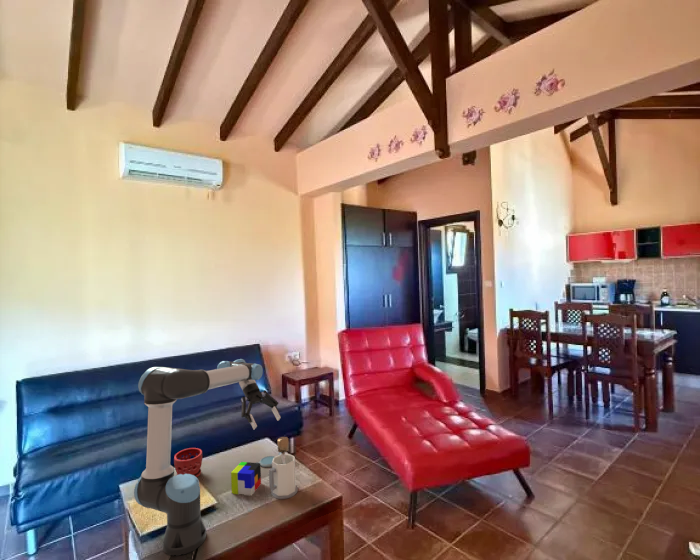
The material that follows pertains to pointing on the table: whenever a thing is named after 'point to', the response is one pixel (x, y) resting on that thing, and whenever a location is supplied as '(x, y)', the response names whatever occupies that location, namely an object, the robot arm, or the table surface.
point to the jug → (283, 477)
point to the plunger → (283, 447)
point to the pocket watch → (267, 461)
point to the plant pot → (188, 462)
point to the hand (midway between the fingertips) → (267, 423)
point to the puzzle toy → (246, 478)
